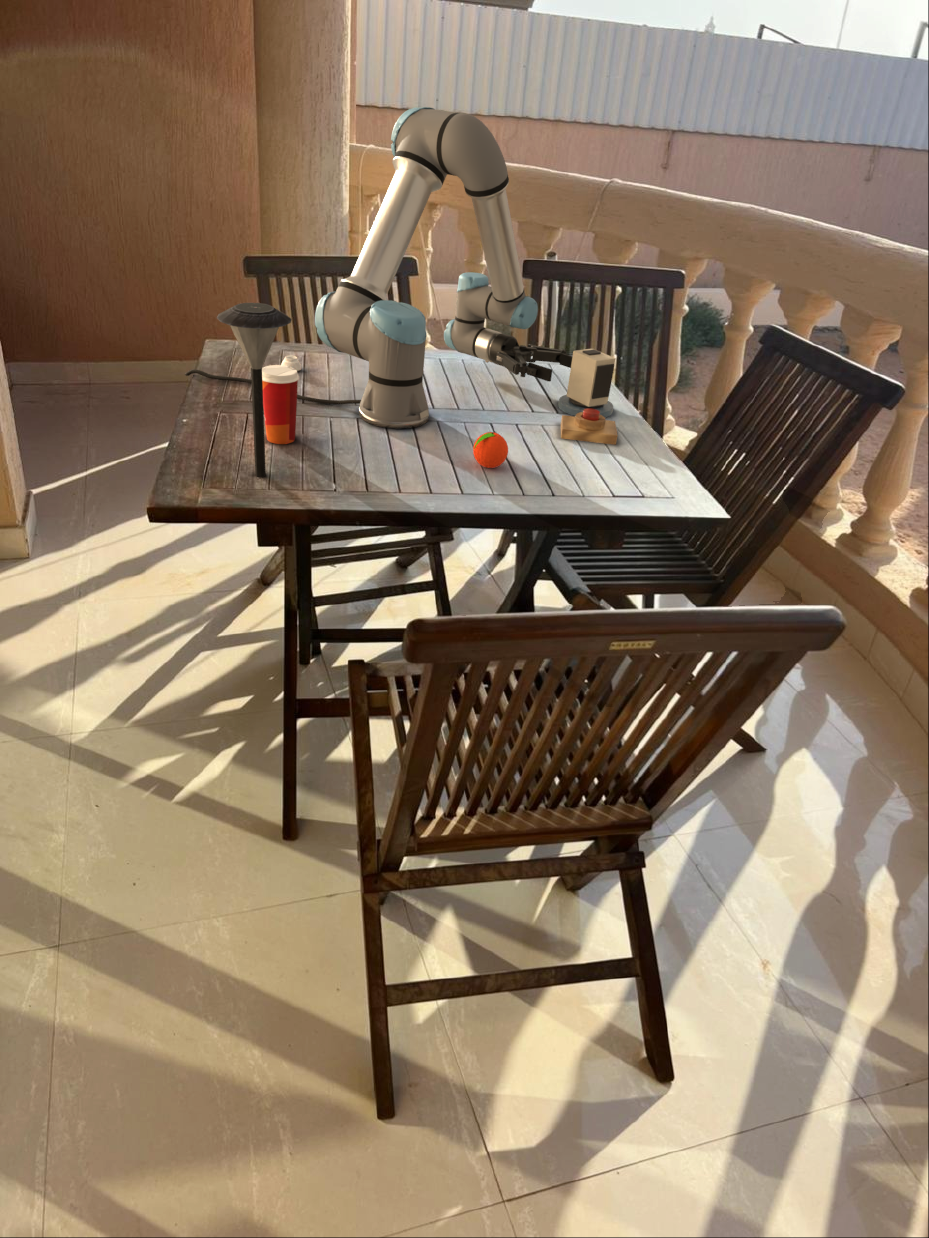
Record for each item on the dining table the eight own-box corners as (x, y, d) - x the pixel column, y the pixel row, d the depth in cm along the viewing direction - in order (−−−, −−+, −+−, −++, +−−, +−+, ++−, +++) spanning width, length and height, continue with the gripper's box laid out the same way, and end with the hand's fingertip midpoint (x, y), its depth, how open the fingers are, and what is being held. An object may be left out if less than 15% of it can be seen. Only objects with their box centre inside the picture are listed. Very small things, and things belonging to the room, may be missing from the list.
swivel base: (558, 415, 203) (559, 408, 202) (557, 397, 214) (558, 391, 213) (614, 421, 203) (615, 415, 202) (610, 403, 214) (611, 397, 213)
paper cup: (285, 429, 181) (284, 361, 173) (307, 441, 177) (307, 372, 169) (253, 436, 176) (250, 367, 168) (275, 449, 172) (273, 379, 164)
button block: (560, 438, 191) (563, 421, 188) (560, 424, 198) (563, 407, 196) (615, 445, 190) (619, 427, 188) (613, 430, 198) (616, 413, 196)
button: (582, 420, 191) (583, 413, 190) (582, 415, 194) (583, 407, 193) (598, 422, 191) (600, 414, 190) (598, 417, 194) (599, 409, 193)
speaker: (561, 398, 208) (569, 349, 202) (587, 394, 213) (595, 346, 206) (585, 410, 202) (594, 360, 196) (612, 405, 207) (621, 356, 201)
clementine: (483, 477, 169) (487, 442, 165) (460, 465, 173) (463, 430, 170) (513, 469, 174) (517, 435, 170) (489, 457, 178) (493, 423, 174)
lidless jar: (305, 371, 214) (294, 365, 216) (305, 359, 212) (294, 353, 215) (288, 374, 211) (276, 368, 213) (287, 361, 209) (276, 356, 212)
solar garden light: (298, 487, 158) (296, 318, 142) (228, 490, 155) (218, 316, 138) (290, 460, 168) (287, 299, 152) (224, 462, 164) (213, 297, 148)
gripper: (525, 355, 229) (593, 376, 218) (464, 371, 212) (534, 396, 201) (529, 325, 225) (598, 346, 214) (466, 340, 208) (538, 363, 197)
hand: (567, 370), depth 208 cm, fingers open, 13 cm apart
